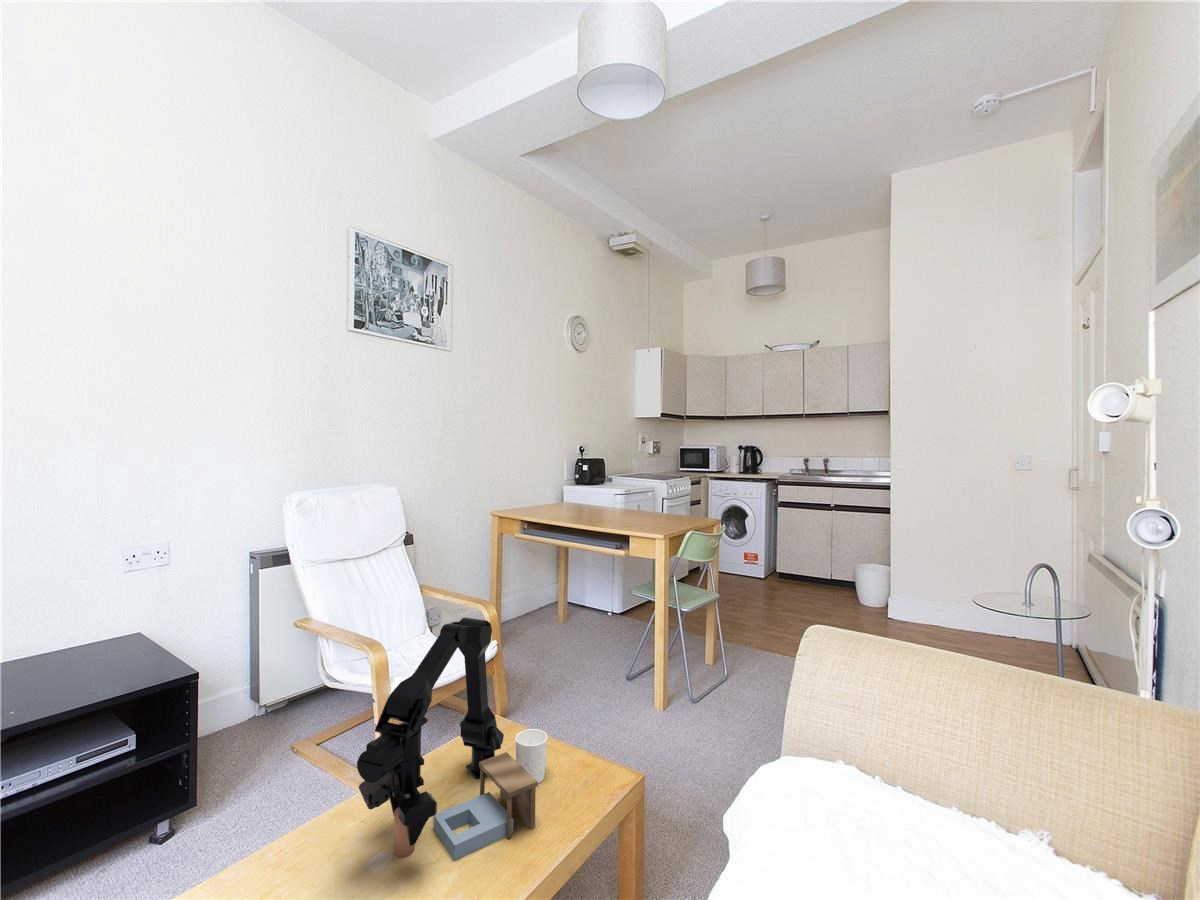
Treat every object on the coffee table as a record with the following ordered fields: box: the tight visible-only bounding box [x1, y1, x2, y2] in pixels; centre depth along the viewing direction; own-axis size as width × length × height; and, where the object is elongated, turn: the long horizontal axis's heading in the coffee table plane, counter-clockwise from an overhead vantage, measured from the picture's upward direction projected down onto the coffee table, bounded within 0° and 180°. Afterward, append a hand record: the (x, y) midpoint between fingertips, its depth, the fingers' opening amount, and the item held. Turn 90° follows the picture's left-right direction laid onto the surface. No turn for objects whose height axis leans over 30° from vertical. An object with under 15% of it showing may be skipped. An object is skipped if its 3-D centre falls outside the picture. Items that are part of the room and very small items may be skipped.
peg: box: [392, 807, 416, 859], centre depth 109 cm, size 4×4×8 cm
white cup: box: [514, 728, 548, 784], centre depth 135 cm, size 8×8×10 cm
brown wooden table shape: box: [479, 751, 539, 840], centre depth 120 cm, size 14×7×10 cm, turn 38°
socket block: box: [432, 791, 514, 861], centre depth 115 cm, size 11×13×3 cm
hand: (404, 831), depth 110 cm, fingers open, 9 cm apart
